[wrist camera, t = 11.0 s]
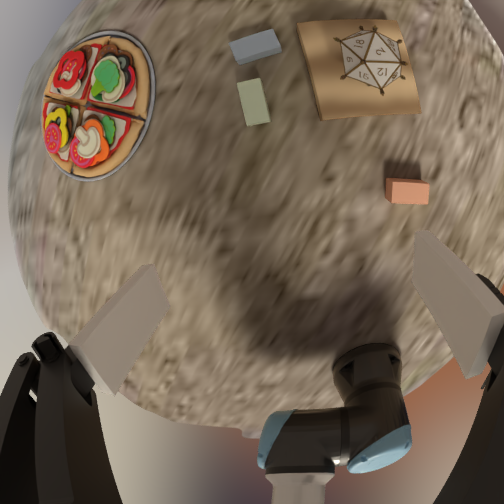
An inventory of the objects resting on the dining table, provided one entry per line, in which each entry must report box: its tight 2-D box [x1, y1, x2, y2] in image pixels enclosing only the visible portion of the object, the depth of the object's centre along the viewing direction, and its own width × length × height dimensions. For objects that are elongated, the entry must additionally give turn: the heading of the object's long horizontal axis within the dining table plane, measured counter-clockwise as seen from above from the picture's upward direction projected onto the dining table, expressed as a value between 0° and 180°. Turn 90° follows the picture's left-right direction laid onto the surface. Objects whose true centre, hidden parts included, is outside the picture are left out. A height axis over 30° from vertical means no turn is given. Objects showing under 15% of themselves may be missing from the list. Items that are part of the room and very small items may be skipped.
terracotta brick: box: [385, 178, 429, 204], centre depth 33 cm, size 6×3×3 cm, turn 95°
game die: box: [333, 25, 408, 96], centre depth 22 cm, size 9×8×10 cm
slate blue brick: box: [229, 29, 282, 65], centre depth 28 cm, size 6×3×3 cm, turn 109°
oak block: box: [297, 19, 421, 121], centre depth 27 cm, size 14×14×3 cm
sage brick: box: [237, 78, 271, 126], centre depth 32 cm, size 6×3×3 cm, turn 12°
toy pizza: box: [41, 31, 155, 181], centre depth 33 cm, size 28×28×4 cm
